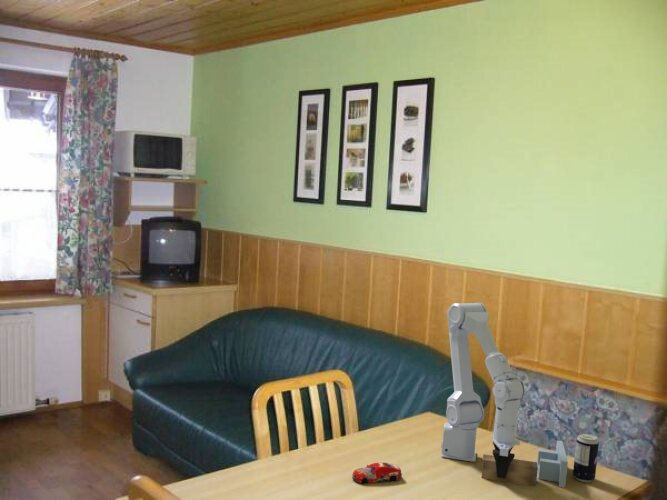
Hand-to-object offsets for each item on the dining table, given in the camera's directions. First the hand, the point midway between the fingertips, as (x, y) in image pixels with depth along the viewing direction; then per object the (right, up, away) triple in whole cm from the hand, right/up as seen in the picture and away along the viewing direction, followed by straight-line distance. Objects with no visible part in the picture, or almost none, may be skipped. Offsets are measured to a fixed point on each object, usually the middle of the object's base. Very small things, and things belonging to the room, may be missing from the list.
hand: (501, 472), depth 187 cm
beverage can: (+23, -3, +3) cm, 23 cm away
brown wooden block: (+2, -2, 0) cm, 2 cm away
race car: (-34, 0, -6) cm, 34 cm away
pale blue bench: (+15, -2, +5) cm, 16 cm away
